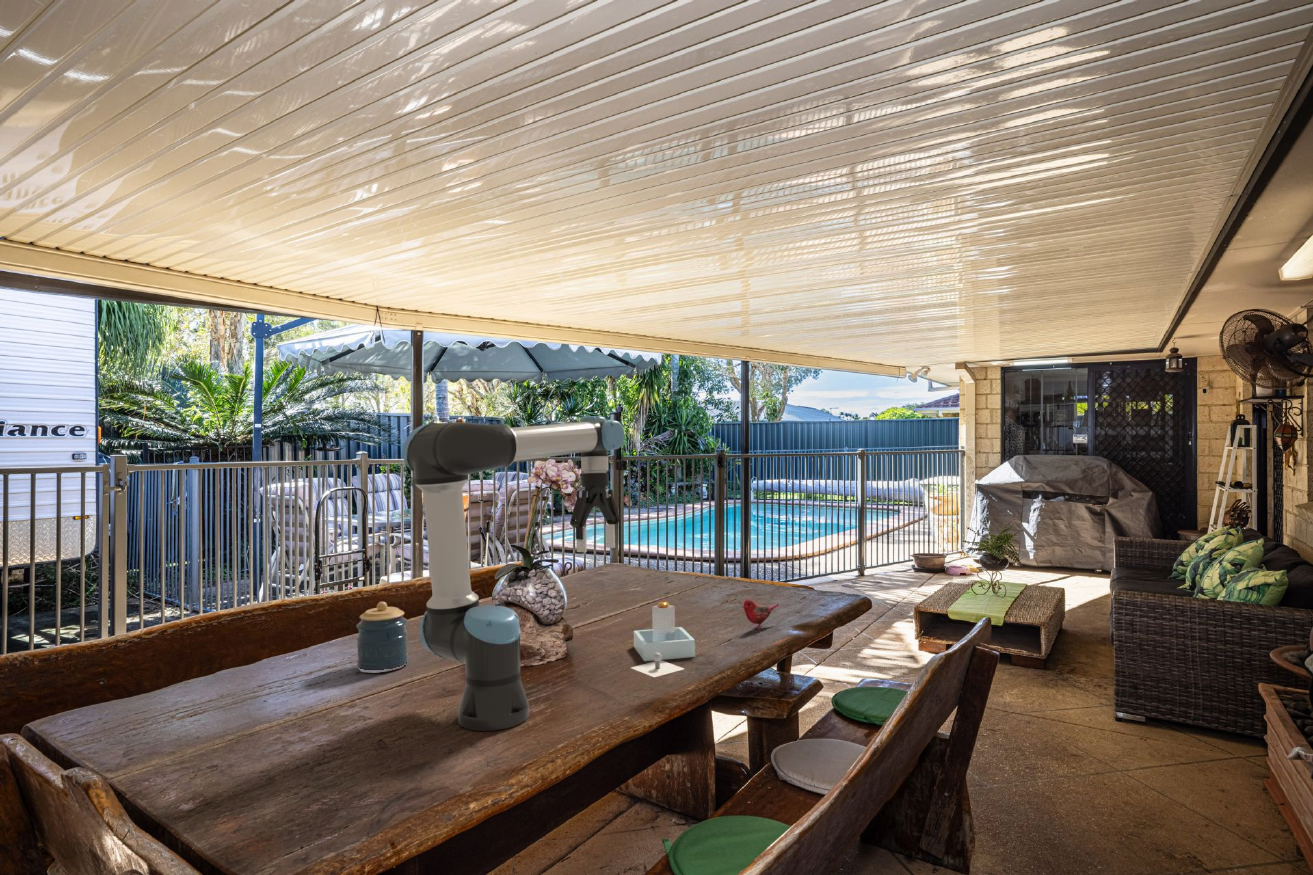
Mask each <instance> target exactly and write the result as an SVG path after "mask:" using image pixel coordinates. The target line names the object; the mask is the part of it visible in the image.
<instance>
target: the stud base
mask: <svg viewBox="0 0 1313 875" xmlns="http://www.w3.org/2000/svg"><path fill="white" fill-rule="evenodd" d="M661 658H662V656H661V654H660V653H655V654H654V655H653V659H654V660H653V661H652V662H647V663H645V664H644V663H643V664H639V665H636V666H632V667H630V669H632V670H634V671H636V672H640V673H642V674H644V675H647V676H648V677H649V676H650V677H652V678H658V677H661V676H664V675H669V674H672V673H675V672H680V671H683V670H685V668H684V667H682V666H678V665H676V664H673V663H669V662H668V661H665V660H661Z"/></svg>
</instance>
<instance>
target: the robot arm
mask: <svg viewBox="0 0 1313 875" xmlns="http://www.w3.org/2000/svg"><path fill="white" fill-rule="evenodd" d="M625 434H626V433H625V428H624V427H623V424H622V423H620V421H617V420H613V419H612V420H610V419H606V417H604V416H597V415H594V416H591V415H590V416H582V417H581V418H580V420H579V421H561V420H560V421H553V422H551V423H549V424H545V425H530V426H518V427H517V426H516V427H510V426H509V425H507V424H504V423H499V424H495V423H494V424H489V423H488V424H487V423H476V422H467V421H466V422H465V421H459V422H457V421H455V422H431V423H427V424H423V425H420V426H418V427H416V428H415V429H413V430H412V431H411V432H410V433H409V435H408V436H407V437H406V439H405V441H404V444H403V446H402V447H403V448H402V455H403V456H402V458H403V461H404V464H405V465H406V467H407V468H408V469H409V470H410V471H411V472H413V473H414V474H413V475H414V482H415V484H414V485H415V487H417V488H418V489H419V490H420V491H422V493H423V504H424V514H425V515H424V516H425V517H424V518H425V526H426V535H427V536H426V538H427V548H428V549H427V551H428V559H429V571H430V581H431V591H432V592H431V593H432V594H431V595H432V596H431V597H430V598H429V600H427V602H426V611H425V612H424V613H423V615H424V616H423V617H422V618H421V619H420V623H419V628H418V632H419V638H420V640H421V643H422V644H423V646H424V648H426V650H427V651H429V652H430V653H432V654H434V655H435V656H437V657H439V658H441V659H449V660H451V661H454V662H458V663H461V664H463V665H465V688H464V690H463V694H462V696H461V700H460V703H459V706H458V711H457V723H458V725H459V726H460V725H461V726H460V727H462V728H463V727H464V728H463V729H465V730H469V731H477V732H490V731H493V732H494V731H501V730H505V729H509V728H514V727H516V726H518V725H520V724H522V723H524V722H526V720H528V718H529V717H530V703H529V701H528V698H527V695H526V692H525V689H524V687H523V684H522V680H521V631H522V630H521V625H520V619H519V618H520V617H519V615H518V613H517V612H516V611H515V610H513V609H512V608H509V607H506V606H503V605H492V604H485V605H480V600H479V599H480V597H479V595H478V594H477V593H475V592H474V591H472V584H471V574H470V562H469V551H468V539H467V529H466V528H467V526H466V518H465V504H464V495H463V493H464V492H463V487H464V486H465V485H466V484H467V483H468V481H469V475H472V474H477V473H481V472H485V471H489V470H493V469H494V470H495V469H500V468H505V467H509V466H512V464H513V463H514V462H515V461H525V460H532V459H541V458H548V457H549V458H550V457H556V456H563V455H571V454H572V455H573V454H579V453H580V458H581V459H580V462H581V463H580V465H581V467H580V468H581V469H580V470H581V472H583V473H581V475H580V476H581V478H580V479H581V481H580V482H581V484H580V485H581V487H582V488H584V489H583V490H582V489H578V490H577V492H576V500H575V503H574V507H573V510H572V514H571V517H570V521H569V524H570V526H571V527H572V528H575V539H576V552H577V553H587V551H588V550H587V546H588V544H587V527H586V526H585V525H586V523H587V521H588V519H589V516H590V514H591V512H592V510H593V508H595V507H597V508H599V511H600V512H601V514H602V516H603V518H604V520H605V521H606V523H607V524H605V526H604V527H605V528H604V529H605V548H607V549H608V548H609V549H613V548H616V525H618V524H619V522H620V520H621V518H620V514H619V512H618V508H617V505H616V502H615V499H614V491H613V489H607V488H606V487H608V486H609V484H610V482H609V479H610V478H609V473H608V471H609V469H610V468H609V453H608V451H612V450H613V451H615V450H618V449H620V448H621V447H622V445H624V442H625V437H626V436H625Z"/></svg>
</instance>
